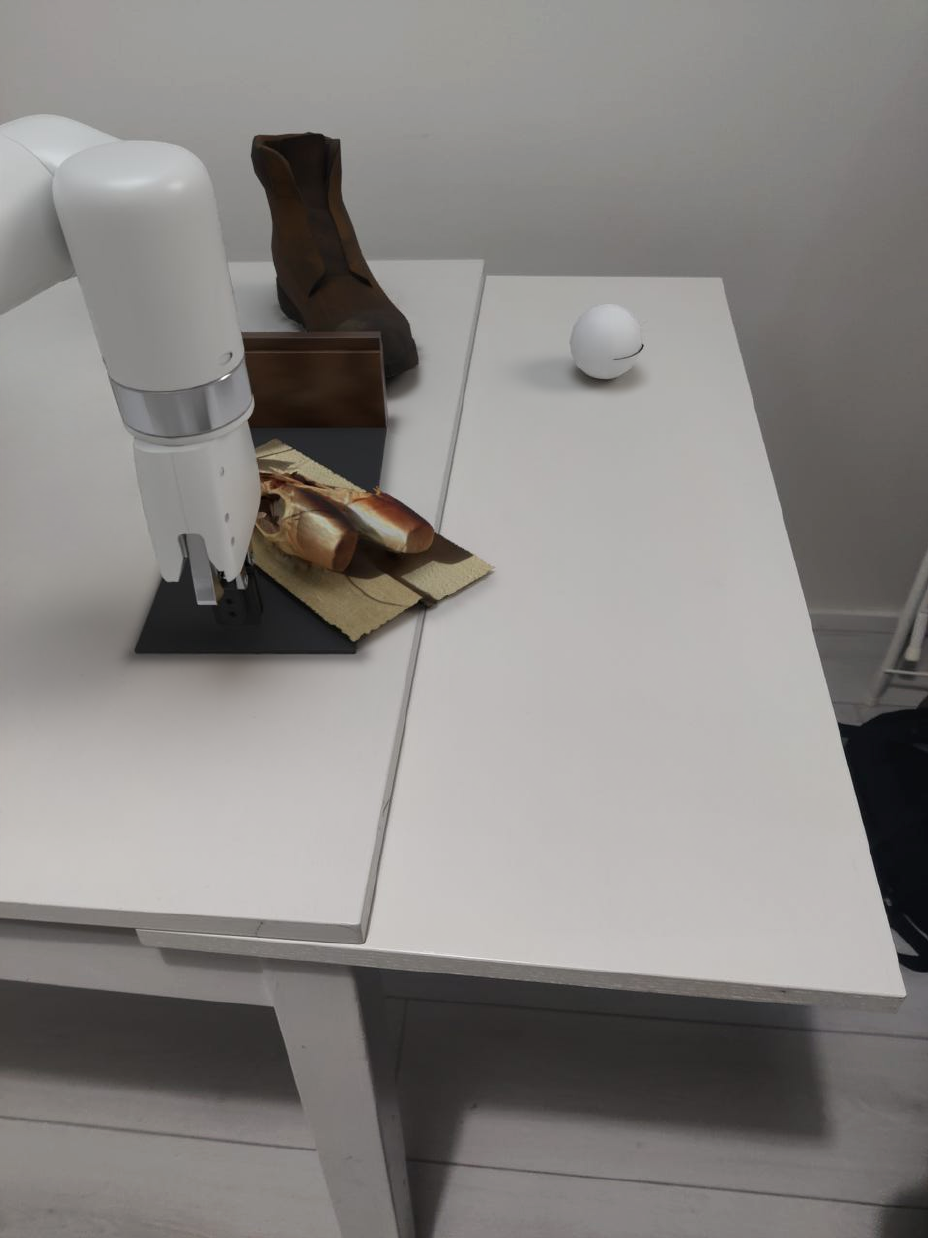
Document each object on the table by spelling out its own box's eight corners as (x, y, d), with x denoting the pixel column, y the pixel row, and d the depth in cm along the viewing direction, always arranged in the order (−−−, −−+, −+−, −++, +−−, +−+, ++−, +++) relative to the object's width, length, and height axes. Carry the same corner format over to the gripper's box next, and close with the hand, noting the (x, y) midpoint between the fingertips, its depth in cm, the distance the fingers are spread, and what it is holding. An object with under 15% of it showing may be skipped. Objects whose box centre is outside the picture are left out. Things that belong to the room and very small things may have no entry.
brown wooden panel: (221, 429, 85) (200, 339, 78) (225, 418, 86) (205, 329, 80) (386, 428, 84) (379, 339, 78) (388, 417, 86) (381, 329, 79)
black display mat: (135, 653, 63) (134, 650, 63) (221, 430, 84) (220, 427, 84) (355, 653, 63) (355, 650, 63) (386, 430, 84) (386, 427, 84)
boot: (350, 411, 87) (326, 201, 73) (257, 296, 106) (223, 112, 92) (449, 384, 90) (444, 179, 76) (341, 277, 109) (322, 97, 95)
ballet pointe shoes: (362, 597, 58) (126, 441, 71) (373, 664, 62) (150, 506, 76) (497, 499, 64) (259, 374, 78) (497, 566, 69) (272, 437, 83)
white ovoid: (595, 400, 88) (602, 330, 83) (553, 368, 92) (557, 301, 87) (673, 374, 91) (684, 306, 86) (629, 345, 96) (637, 279, 91)
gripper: (151, 327, 55) (210, 550, 68) (76, 463, 45) (163, 696, 58) (270, 327, 55) (307, 550, 68) (223, 463, 45) (277, 697, 57)
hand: (241, 616), depth 63 cm, fingers closed
